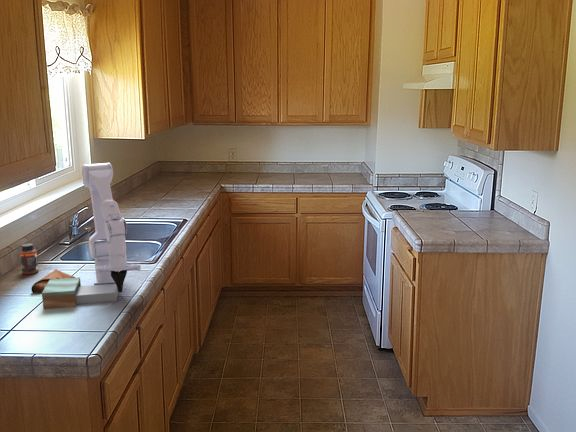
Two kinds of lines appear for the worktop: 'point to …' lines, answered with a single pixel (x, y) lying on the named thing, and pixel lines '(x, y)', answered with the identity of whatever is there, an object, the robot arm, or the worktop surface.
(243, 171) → the worktop surface
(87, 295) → the flat grey cuboid
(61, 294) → the overhang bridge
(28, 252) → the supplement bottle
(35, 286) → the sunglasses case
